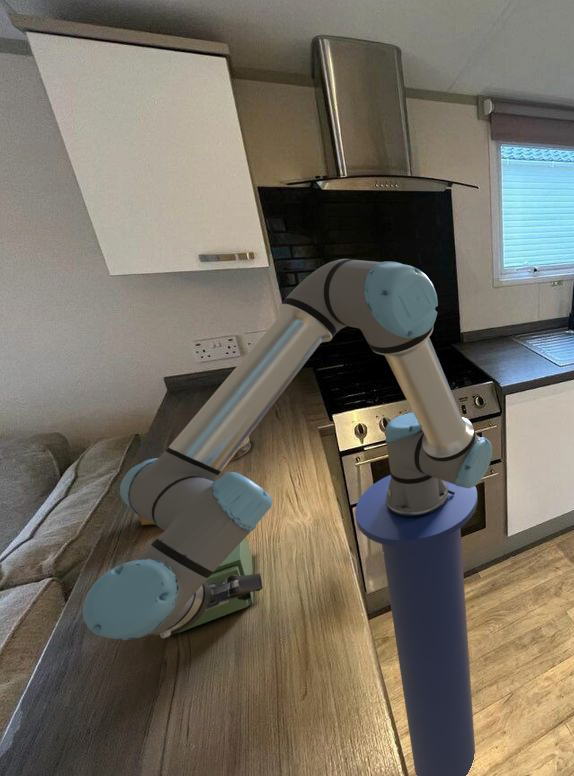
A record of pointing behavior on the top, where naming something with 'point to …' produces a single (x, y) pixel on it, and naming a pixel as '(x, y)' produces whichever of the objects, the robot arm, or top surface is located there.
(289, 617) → the top surface
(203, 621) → the drawer
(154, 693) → the top surface
